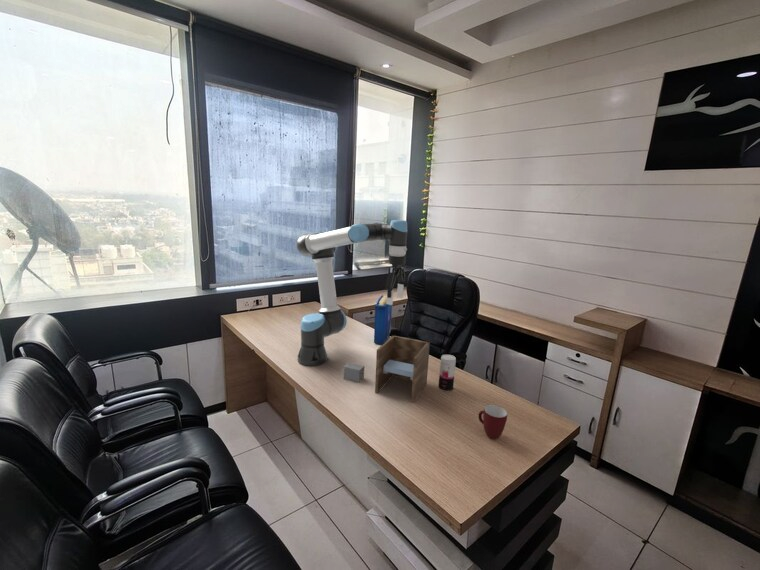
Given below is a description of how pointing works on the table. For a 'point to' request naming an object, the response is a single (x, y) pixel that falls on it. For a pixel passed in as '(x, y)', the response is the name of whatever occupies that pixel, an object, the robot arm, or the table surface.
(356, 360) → the table surface
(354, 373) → the riser block
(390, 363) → the shelf board
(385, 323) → the book
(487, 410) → the mug
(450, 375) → the beverage can
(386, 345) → the bookcase frame
